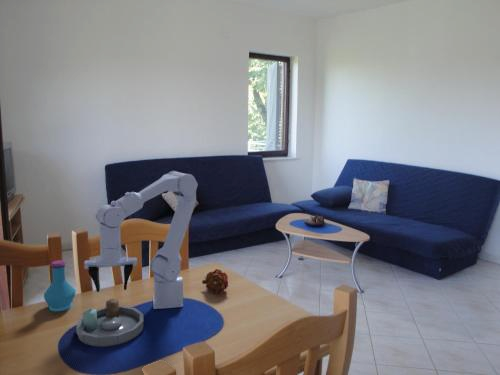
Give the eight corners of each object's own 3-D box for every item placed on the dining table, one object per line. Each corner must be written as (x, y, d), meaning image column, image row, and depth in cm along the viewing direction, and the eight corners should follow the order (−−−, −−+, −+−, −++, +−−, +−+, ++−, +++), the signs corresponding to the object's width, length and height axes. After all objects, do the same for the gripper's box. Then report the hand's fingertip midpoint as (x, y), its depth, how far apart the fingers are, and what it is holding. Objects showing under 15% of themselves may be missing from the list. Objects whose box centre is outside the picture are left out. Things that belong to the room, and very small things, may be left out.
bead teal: (98, 324, 118) (97, 308, 117) (96, 330, 115) (95, 314, 114) (84, 325, 118) (84, 309, 117) (82, 331, 114) (82, 315, 113)
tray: (143, 312, 128) (143, 303, 128) (143, 342, 111) (142, 333, 111) (82, 317, 124) (82, 308, 124) (72, 350, 107) (72, 340, 106)
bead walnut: (119, 313, 125) (118, 298, 124) (118, 319, 122) (118, 303, 121) (107, 314, 124) (106, 299, 123) (106, 320, 121) (105, 304, 120)
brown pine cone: (219, 303, 140) (209, 293, 151) (237, 286, 142) (226, 278, 153) (205, 285, 138) (196, 277, 149) (223, 268, 140) (213, 261, 151)
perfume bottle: (64, 314, 125) (61, 268, 123) (37, 311, 127) (35, 265, 125) (82, 301, 134) (80, 258, 132) (57, 298, 136) (54, 256, 134)
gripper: (136, 240, 125) (137, 282, 127) (86, 242, 121) (87, 285, 123) (135, 247, 118) (136, 291, 120) (82, 250, 114) (84, 295, 117)
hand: (111, 289), depth 121 cm, fingers open, 7 cm apart
